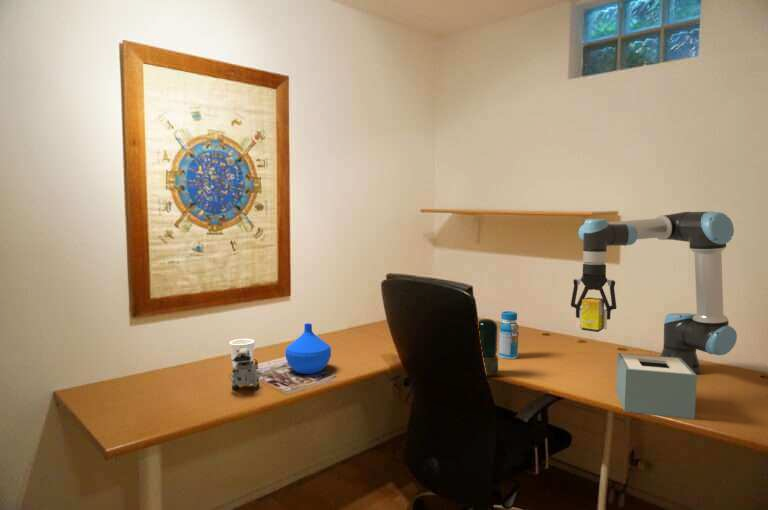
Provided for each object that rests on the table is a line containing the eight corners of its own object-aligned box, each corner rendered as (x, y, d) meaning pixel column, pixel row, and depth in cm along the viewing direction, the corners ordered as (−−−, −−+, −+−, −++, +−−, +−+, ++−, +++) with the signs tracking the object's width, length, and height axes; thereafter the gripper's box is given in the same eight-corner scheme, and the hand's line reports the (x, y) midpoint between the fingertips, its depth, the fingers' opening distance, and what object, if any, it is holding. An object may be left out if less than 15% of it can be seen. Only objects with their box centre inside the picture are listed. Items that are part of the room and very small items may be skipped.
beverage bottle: (498, 358, 224) (499, 313, 223) (498, 353, 232) (499, 310, 231) (518, 360, 222) (519, 314, 221) (517, 354, 230) (519, 311, 229)
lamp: (502, 373, 204) (503, 319, 202) (490, 379, 197) (491, 322, 195) (481, 368, 210) (482, 315, 209) (469, 373, 203) (469, 319, 201)
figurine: (226, 395, 179) (224, 353, 177) (237, 384, 190) (236, 345, 189) (251, 396, 178) (250, 354, 177) (261, 385, 189) (260, 345, 188)
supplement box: (586, 326, 184) (587, 296, 183) (603, 329, 180) (604, 298, 179) (580, 329, 180) (581, 299, 179) (598, 332, 176) (599, 301, 175)
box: (678, 397, 178) (680, 357, 177) (694, 419, 159) (696, 375, 158) (616, 390, 184) (617, 352, 183) (624, 411, 165) (626, 369, 164)
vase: (337, 365, 213) (337, 320, 212) (320, 379, 196) (320, 330, 194) (297, 362, 218) (297, 318, 217) (277, 375, 201) (276, 327, 199)
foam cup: (229, 378, 197) (229, 345, 196) (230, 371, 206) (229, 339, 205) (255, 376, 199) (254, 344, 198) (254, 369, 208) (253, 338, 207)
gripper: (624, 262, 178) (622, 327, 180) (563, 261, 185) (561, 323, 187) (627, 265, 171) (625, 332, 173) (563, 263, 178) (562, 328, 180)
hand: (592, 327), depth 180 cm, fingers closed on supplement box, 7 cm apart
